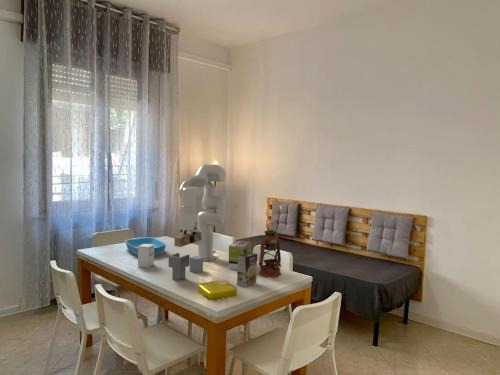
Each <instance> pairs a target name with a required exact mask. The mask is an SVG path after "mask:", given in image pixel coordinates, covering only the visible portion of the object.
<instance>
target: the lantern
mask: <svg viewBox="0 0 500 375" xmlns="http://www.w3.org/2000/svg"><path fill="white" fill-rule="evenodd" d="M269 225H273V223H272V222H270V223H269V224H268V227H267V230H264V231H263V233H264V234H265V235H264V238H263V240H262V242H261V243H260V253H259V254H260V255H259V258H258V262H257V266H259V268H260V271H259V273H258V275H259V276H260V277H263V278H267V277H271V278H270V279H274V278H275V277H276V278H280V277H282V273H281V268H282V264H281V262H282V260H281V259H282V257H281V249H280V248H281V247H280V246H281V245H280V238H279V237H278V236H277V231H275V230H274V229H271V230H270V229H269ZM265 250H266V251H265ZM270 252H273V254H272V253H270ZM265 255H267V257H269V259H265ZM268 255H270V256H271V257H270V256H268ZM279 276H280V277H279Z"/></svg>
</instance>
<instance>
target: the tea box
mask: <svg viewBox="0 0 500 375" xmlns="http://www.w3.org/2000/svg"><path fill="white" fill-rule="evenodd" d="M248 252H249V253H252V241H246V240H236V241H234V242H232V243H231V244H229V245H228V270H233V271H237V270H238V255H240V254H244V253H248Z"/></svg>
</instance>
